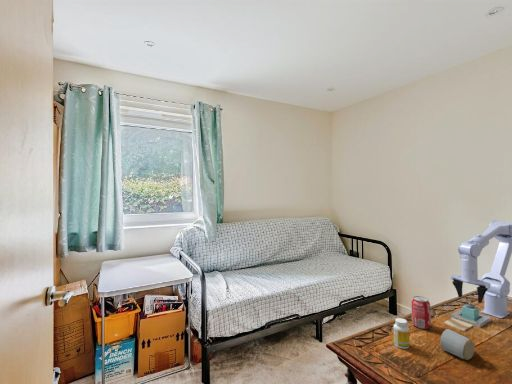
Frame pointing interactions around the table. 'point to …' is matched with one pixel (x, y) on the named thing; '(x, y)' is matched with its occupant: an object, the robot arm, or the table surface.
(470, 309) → the teal cube with dome
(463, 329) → the cork coaster
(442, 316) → the table surface
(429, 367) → the table surface
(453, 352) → the grey cylinder
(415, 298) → the soda can
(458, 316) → the block
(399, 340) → the supplement bottle
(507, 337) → the table surface
